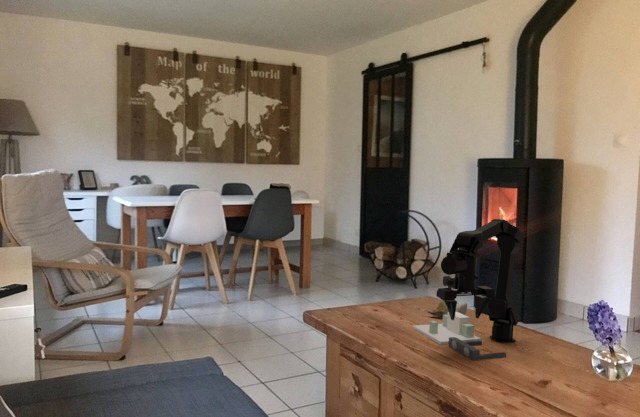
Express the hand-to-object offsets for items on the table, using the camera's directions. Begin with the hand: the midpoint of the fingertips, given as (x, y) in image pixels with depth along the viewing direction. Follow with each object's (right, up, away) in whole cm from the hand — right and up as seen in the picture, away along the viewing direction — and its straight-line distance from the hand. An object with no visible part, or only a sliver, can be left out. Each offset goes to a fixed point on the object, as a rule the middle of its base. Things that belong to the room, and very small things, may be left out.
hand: (464, 319), depth 175 cm
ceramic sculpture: (+5, -9, +44) cm, 45 cm away
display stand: (-2, -10, +20) cm, 23 cm away
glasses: (+4, -11, +2) cm, 12 cm away
